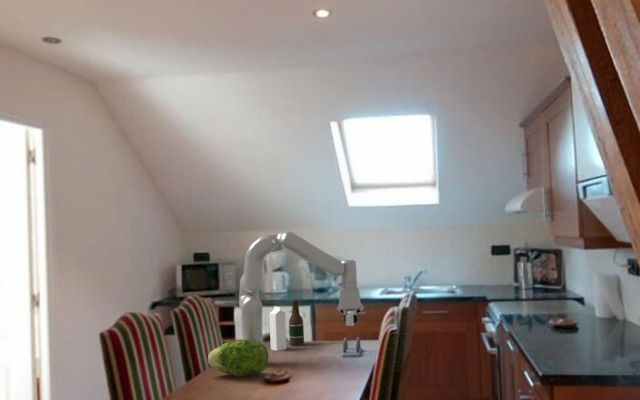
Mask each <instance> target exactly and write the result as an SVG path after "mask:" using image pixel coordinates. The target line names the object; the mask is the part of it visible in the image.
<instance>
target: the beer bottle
mask: <svg viewBox="0 0 640 400" xmlns="http://www.w3.org/2000/svg"><path fill="white" fill-rule="evenodd" d="M299 302H300V301H299V299H292V300H291V305H292V306H291V307H292V309H291V316H290V318H289V320H288V332H289V334H288V335H289V346H291V347H300V346H304V345H305V329H304V319H303V317H302V315H301V313H300V307H299V306H300V305H299Z"/></svg>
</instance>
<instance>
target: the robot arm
mask: <svg viewBox="0 0 640 400" xmlns="http://www.w3.org/2000/svg"><path fill="white" fill-rule="evenodd" d="M284 250H286V251H288V252H290V253H291V254H293V255H295V256H296V257H298V258H299V259H301V260H303V261H304V262H307V263H309V264H312V265H314V266H317V267H318V268H320V269H322V270H324V272H325V274H327V275H329V276H332V277H336V278H337V277H340V276H341V277H340V278H341V279H340V280H341V282H339V283H338V287H340V289H339V295H338V297H339V298H338V300H339V301H338V305H337V307H336V309H335V310H337V311H338V312H340V313H341V314H342V315H343V320H344V321H343V322H344V323H346V315H347V310H353V311H354V325H355V324H357V323H356V322H358V314H359V313H360V312H361V311H363V310H364V309H365V307H364V305H363V304H362V302H361V295H360V290H359V287H358V282H357V281H358V279H357V262H356V260H354V259H343V260H340V259H339V260H338V259H337V258H336V257H334V256H332V255H330V254H328V253H327V252H325V251H323V250H322V249H320V248H319V247H317V246H315V245H314V244H312V243H311V242H309V241H307V240H306V239H304V238H303V237H300V236H299V235H298V234H296V233H295V232H291V231H283V232H282V231H281V232H279V233H273V234H269V235H262V236H260V237H258V238H257V239H255V241H254V242H253V243H252V244H251V245H250V247H249V248H248V249H247V252H246V254H245V259H244V265H243V266H244V267H243V268H244V269H243V275H241V278H240V281H239V296H238V297H239V298H238V306H239V309H240V310H241V337H242V338H241V339H246V340H248V339H250V340H256V341H259V342H261V343H262V344H263V345H264V337H263V334H264V333H263V303H262V301H261V299H260V290H261V288H262V286H263V267H264V266H263V265H264V260H265V258H266V256H267V255H269V254H271V253H274V252H278V251H279V252H280V251H284Z"/></svg>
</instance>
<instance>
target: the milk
mask: <svg viewBox="0 0 640 400" xmlns="http://www.w3.org/2000/svg"><path fill="white" fill-rule="evenodd" d="M286 323H287V321H286V312H284V311H282V310H281V307H280V306H273V310H271V311H270V312H269V335H270V337H269V338H270V350H272V351H276V352H279V351H285V350H287V349H288V348H287V329H286V328H287V326H286Z"/></svg>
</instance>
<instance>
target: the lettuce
mask: <svg viewBox="0 0 640 400" xmlns="http://www.w3.org/2000/svg"><path fill="white" fill-rule="evenodd" d="M207 361H208V365H210V367H212V368H213V369H216V370H218V371H220V372H222V373H224V374H227V375H231V376H237V377H249V376H254V375H259V374H261V373H262V372H263V371H264V370H266V368H267V366H268V363H269V351H268V349H267V346H266V345H265V344H264V343H263V344H262V343H261V342H259V341H256V340H250V339H248V340H246V339H242V338H241V339H234V340H229V341H227V342H225V343H222V344H221V345H220V346H218V347H216V348H214V349H213V350H211V351H210V352H209V353H208V358H207Z"/></svg>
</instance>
